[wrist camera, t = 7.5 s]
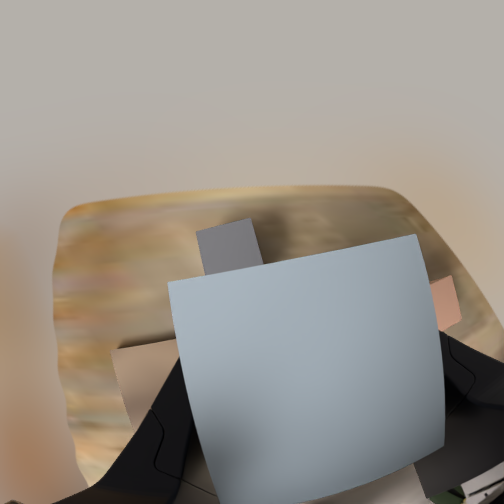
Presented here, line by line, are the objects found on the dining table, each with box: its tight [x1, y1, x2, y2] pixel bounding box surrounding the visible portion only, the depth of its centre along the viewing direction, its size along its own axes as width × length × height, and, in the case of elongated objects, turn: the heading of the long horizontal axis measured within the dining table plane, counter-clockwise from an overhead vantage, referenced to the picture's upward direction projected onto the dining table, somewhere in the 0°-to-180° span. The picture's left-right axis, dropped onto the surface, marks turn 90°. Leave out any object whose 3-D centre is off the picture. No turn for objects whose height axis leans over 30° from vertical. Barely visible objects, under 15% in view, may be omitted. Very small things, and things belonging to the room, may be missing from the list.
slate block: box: [168, 234, 445, 504], centre depth 9 cm, size 4×4×11 cm
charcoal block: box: [196, 218, 264, 276], centre depth 21 cm, size 4×4×4 cm
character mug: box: [430, 485, 467, 504], centre depth 10 cm, size 11×7×13 cm, turn 149°
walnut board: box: [110, 339, 179, 432], centre depth 19 cm, size 12×12×1 cm
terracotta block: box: [429, 275, 462, 331], centre depth 20 cm, size 4×4×4 cm
